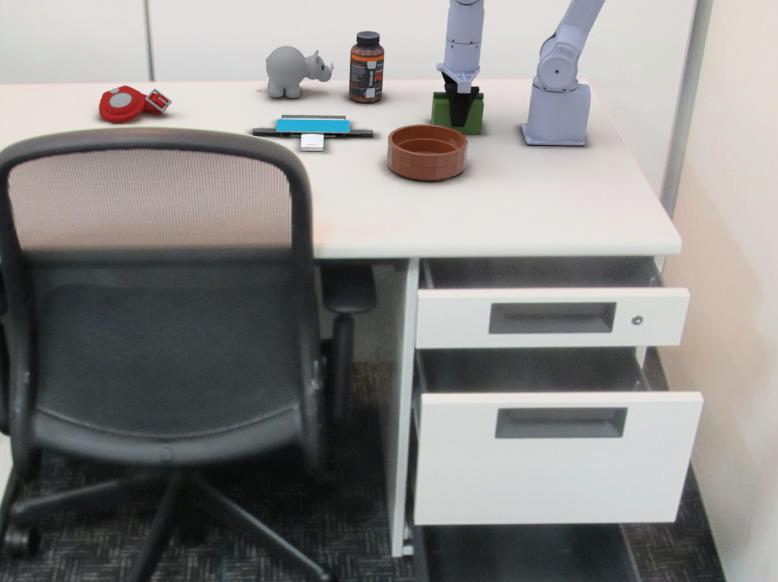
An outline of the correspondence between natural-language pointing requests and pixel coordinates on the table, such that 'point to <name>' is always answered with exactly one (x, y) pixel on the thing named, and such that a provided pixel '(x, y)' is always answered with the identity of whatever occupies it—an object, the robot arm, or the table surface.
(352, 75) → the supplement bottle
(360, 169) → the table surface
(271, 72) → the round bodied animal figurine
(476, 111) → the green block
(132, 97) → the tracker holder
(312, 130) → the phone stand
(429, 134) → the bowl
